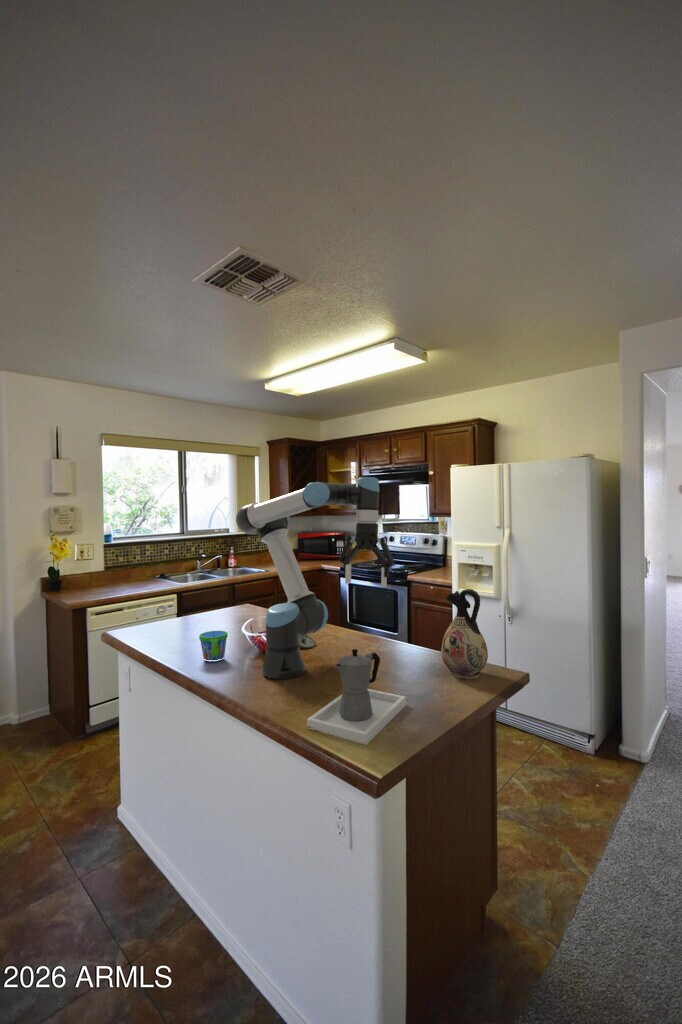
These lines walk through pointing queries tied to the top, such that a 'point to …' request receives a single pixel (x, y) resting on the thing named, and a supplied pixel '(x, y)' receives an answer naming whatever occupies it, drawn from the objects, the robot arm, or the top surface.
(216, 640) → the snack cup
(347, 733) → the docking tray
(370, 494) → the robot arm
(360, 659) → the coffeepot
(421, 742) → the top surface
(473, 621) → the ceramic jug
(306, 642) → the lid
